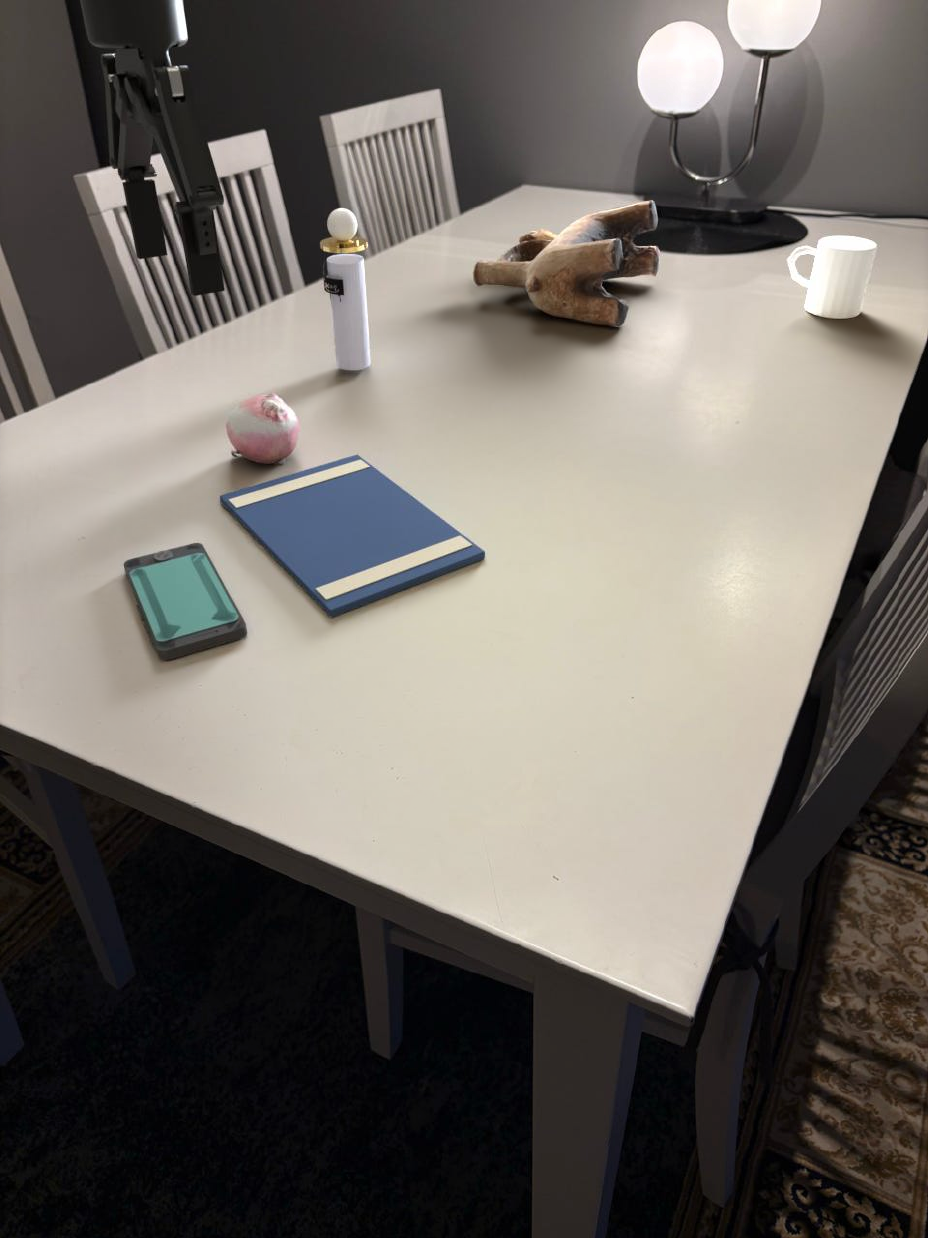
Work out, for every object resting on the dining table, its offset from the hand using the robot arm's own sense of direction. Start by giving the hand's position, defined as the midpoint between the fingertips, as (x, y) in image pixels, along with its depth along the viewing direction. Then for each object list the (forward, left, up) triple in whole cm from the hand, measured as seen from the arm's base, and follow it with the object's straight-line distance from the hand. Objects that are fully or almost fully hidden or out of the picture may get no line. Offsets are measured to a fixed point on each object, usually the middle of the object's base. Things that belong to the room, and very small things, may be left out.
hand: (178, 273), depth 82 cm
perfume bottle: (-21, +28, -22) cm, 41 cm away
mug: (-1, +98, -22) cm, 100 cm away
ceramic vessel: (-29, +70, -22) cm, 79 cm away
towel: (+15, +7, -22) cm, 27 cm away
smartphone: (+17, -10, -22) cm, 30 cm away
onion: (-4, +7, -22) cm, 23 cm away
